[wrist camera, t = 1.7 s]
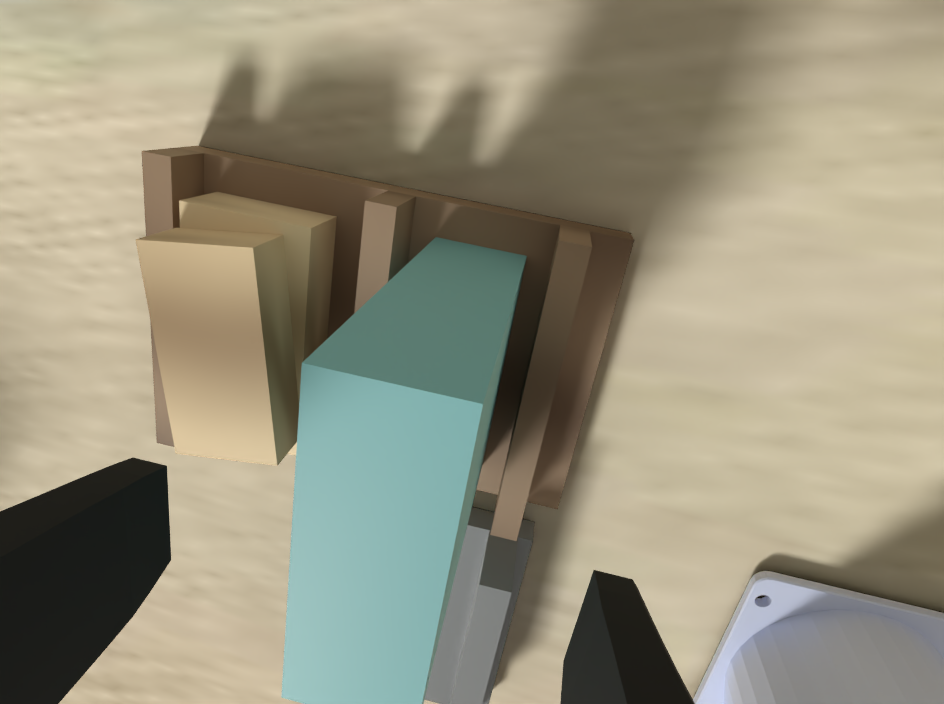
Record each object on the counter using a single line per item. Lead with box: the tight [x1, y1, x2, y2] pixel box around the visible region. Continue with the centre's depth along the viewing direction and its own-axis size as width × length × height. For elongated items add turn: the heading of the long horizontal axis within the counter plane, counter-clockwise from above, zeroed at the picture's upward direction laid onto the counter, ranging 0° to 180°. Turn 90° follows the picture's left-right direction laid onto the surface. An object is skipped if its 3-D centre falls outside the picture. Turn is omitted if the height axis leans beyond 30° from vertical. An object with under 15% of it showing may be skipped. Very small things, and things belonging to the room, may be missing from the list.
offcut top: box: [136, 228, 299, 466], centre depth 16 cm, size 6×3×2 cm, turn 178°
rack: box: [142, 146, 634, 541], centre depth 17 cm, size 9×13×3 cm
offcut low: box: [179, 192, 337, 456], centre depth 17 cm, size 7×4×2 cm, turn 170°
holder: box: [425, 507, 534, 704], centre depth 21 cm, size 9×7×4 cm
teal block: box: [282, 237, 527, 704], centre depth 14 cm, size 7×3×9 cm, turn 170°
